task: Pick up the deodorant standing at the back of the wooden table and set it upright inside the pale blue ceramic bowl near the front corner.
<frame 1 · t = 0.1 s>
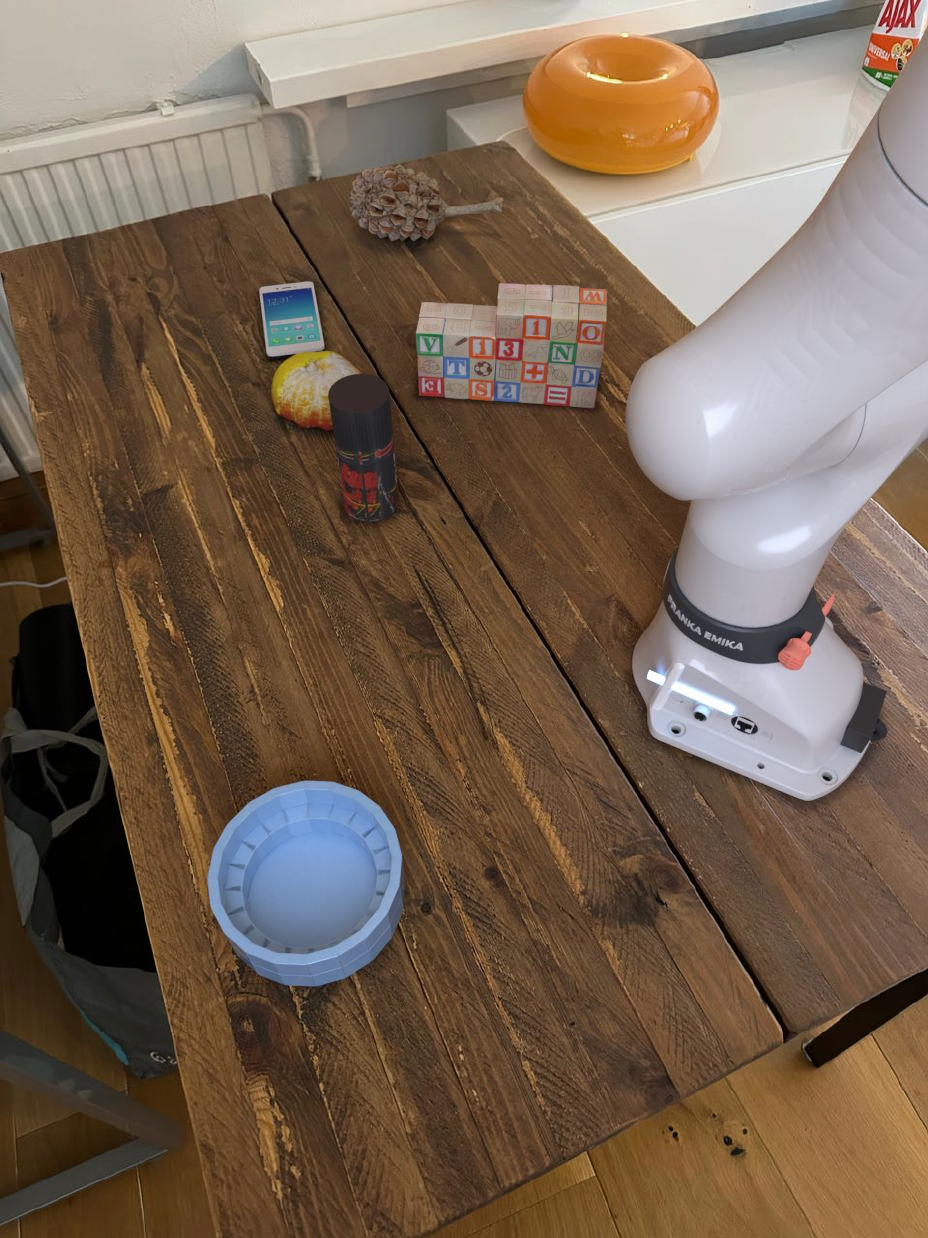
stack of blocks: (508, 387, 116), on the table
deodorant: (371, 503, 104), on the table
pine cone: (429, 237, 136), on the table
smartphone: (291, 323, 124), on the table
fruit: (322, 410, 113), on the table
bowl: (315, 896, 77), on the table
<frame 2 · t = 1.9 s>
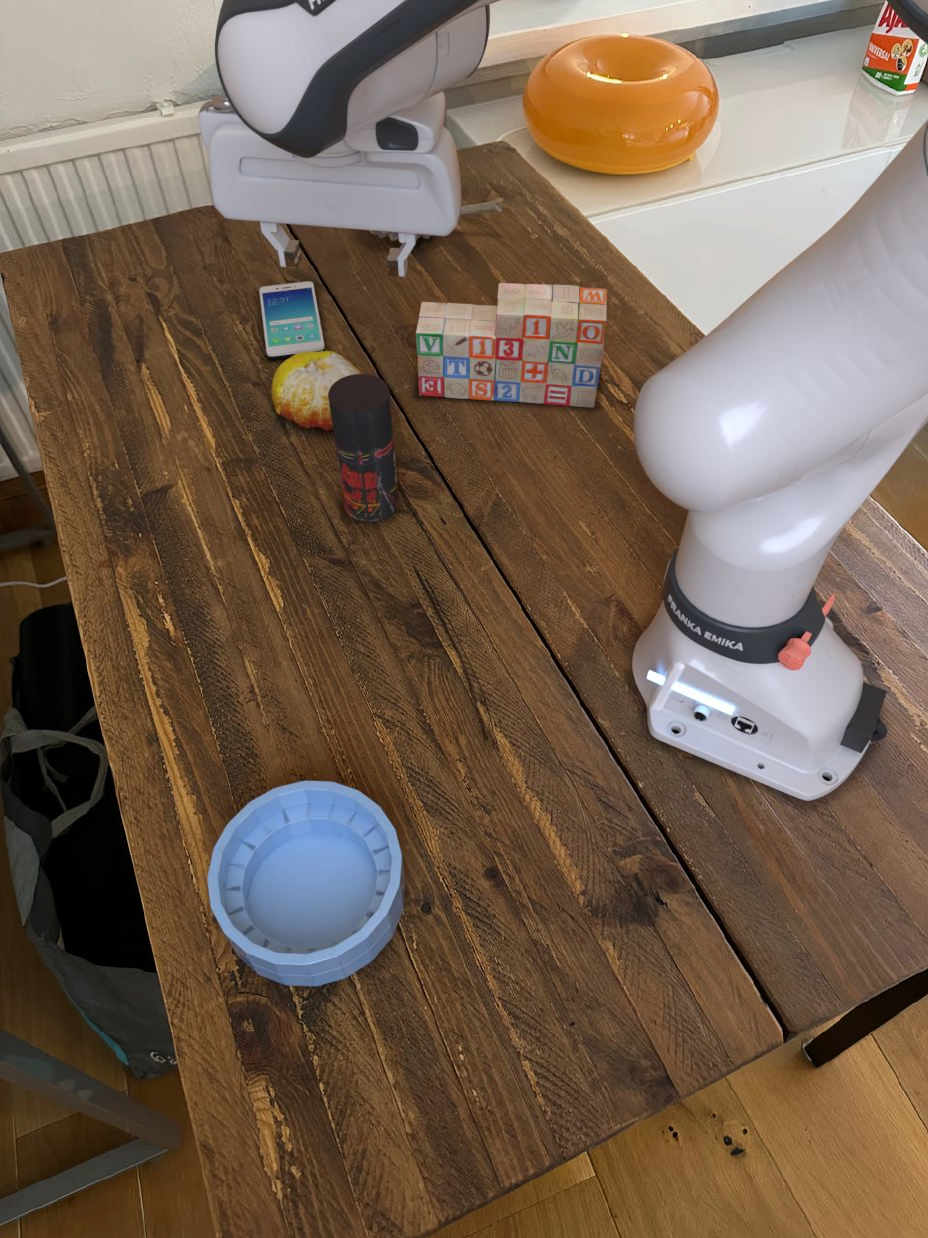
hand: (344, 268, 82), 28 cm above the table, tool pointing down, fingers open, 8 cm apart
nothing on the table moved.
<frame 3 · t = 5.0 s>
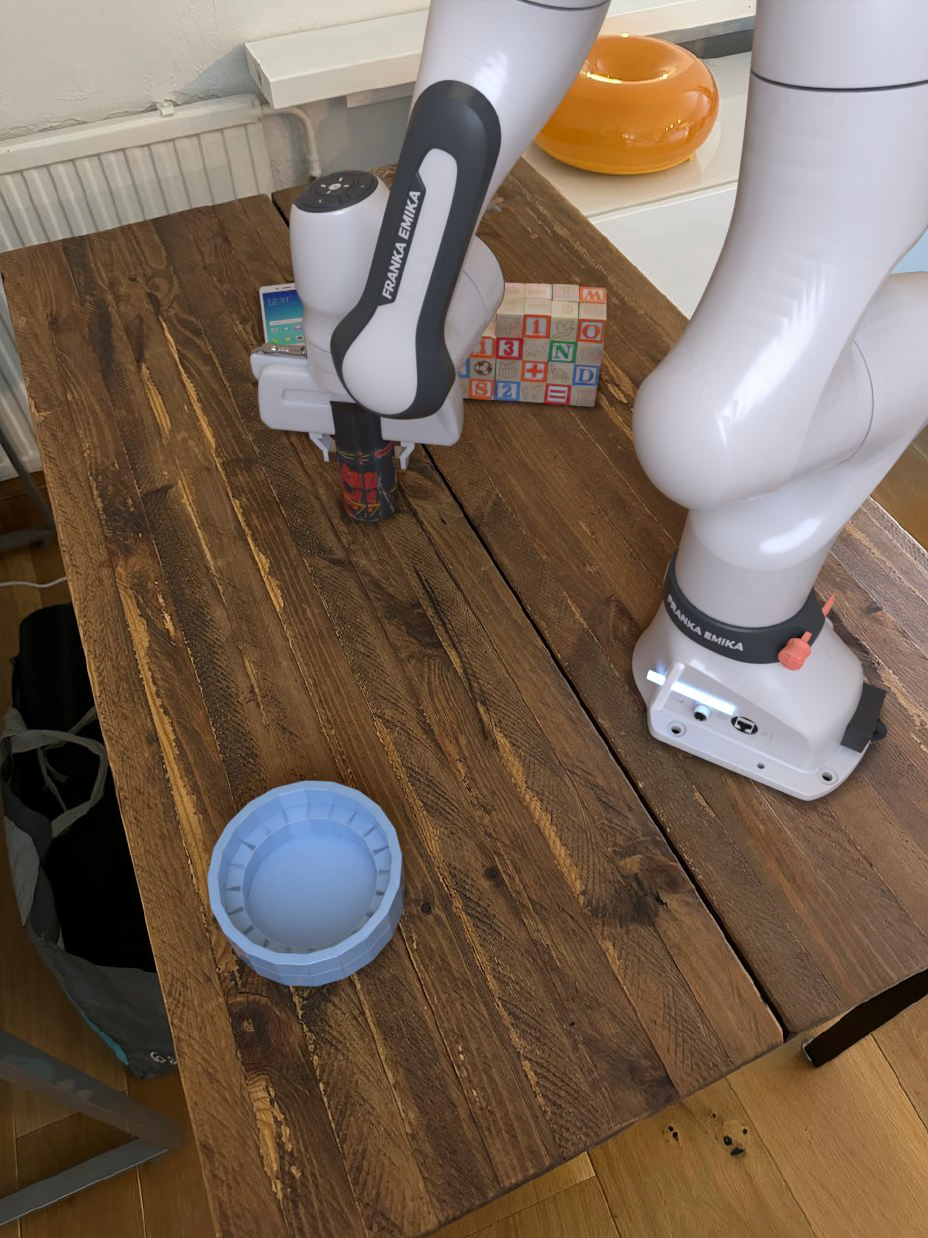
hand: (367, 461, 99), 6 cm above the table, tool pointing down, fingers closed on deodorant, 6 cm apart
deodorant: (371, 503, 104), on the table, touching gripper
everything else where it was.
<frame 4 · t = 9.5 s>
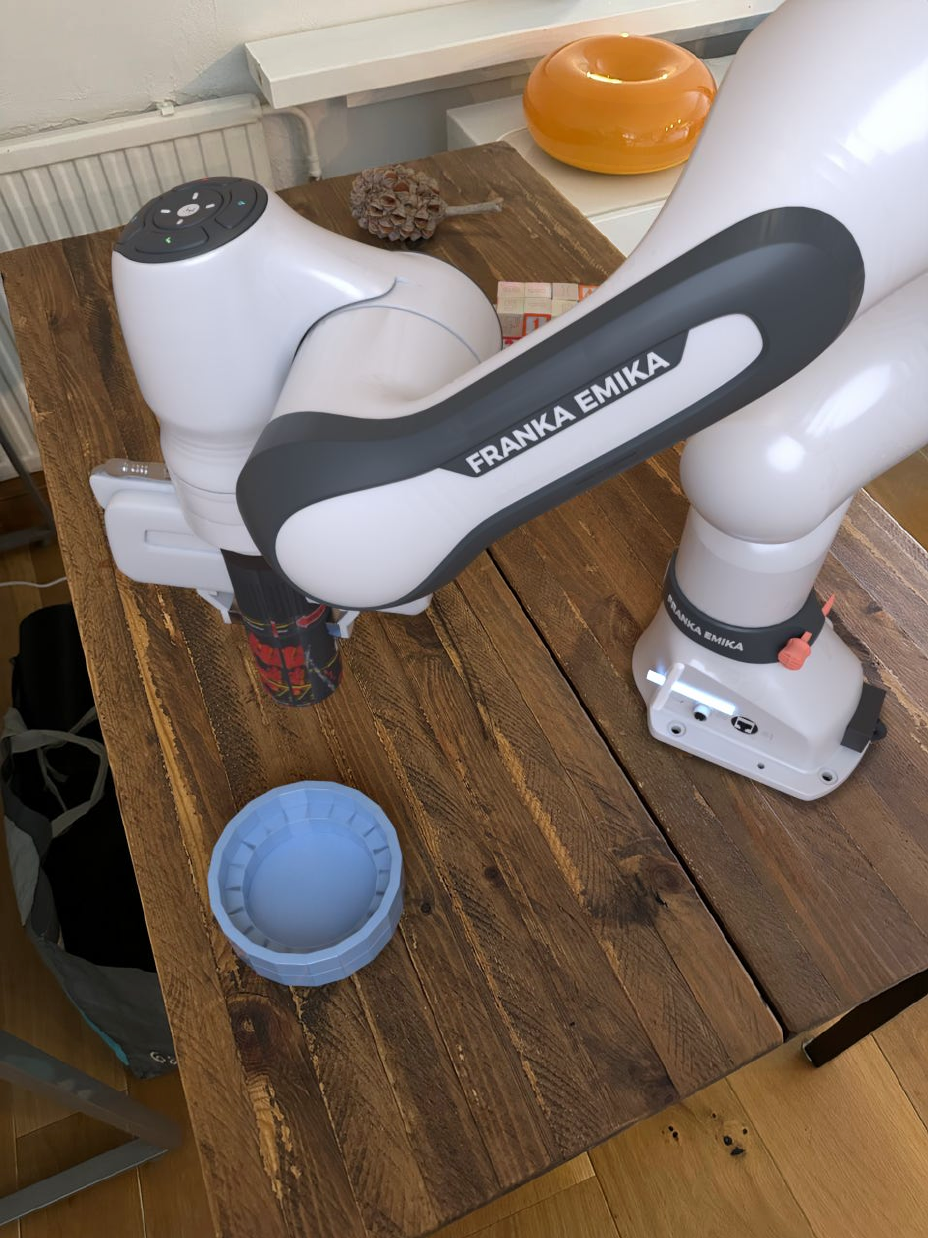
hand: (291, 623, 65), 23 cm above the table, tool pointing down, fingers closed on deodorant, 6 cm apart
deodorant: (302, 674, 69), point 17 cm above the table, touching gripper
everything else where it was.
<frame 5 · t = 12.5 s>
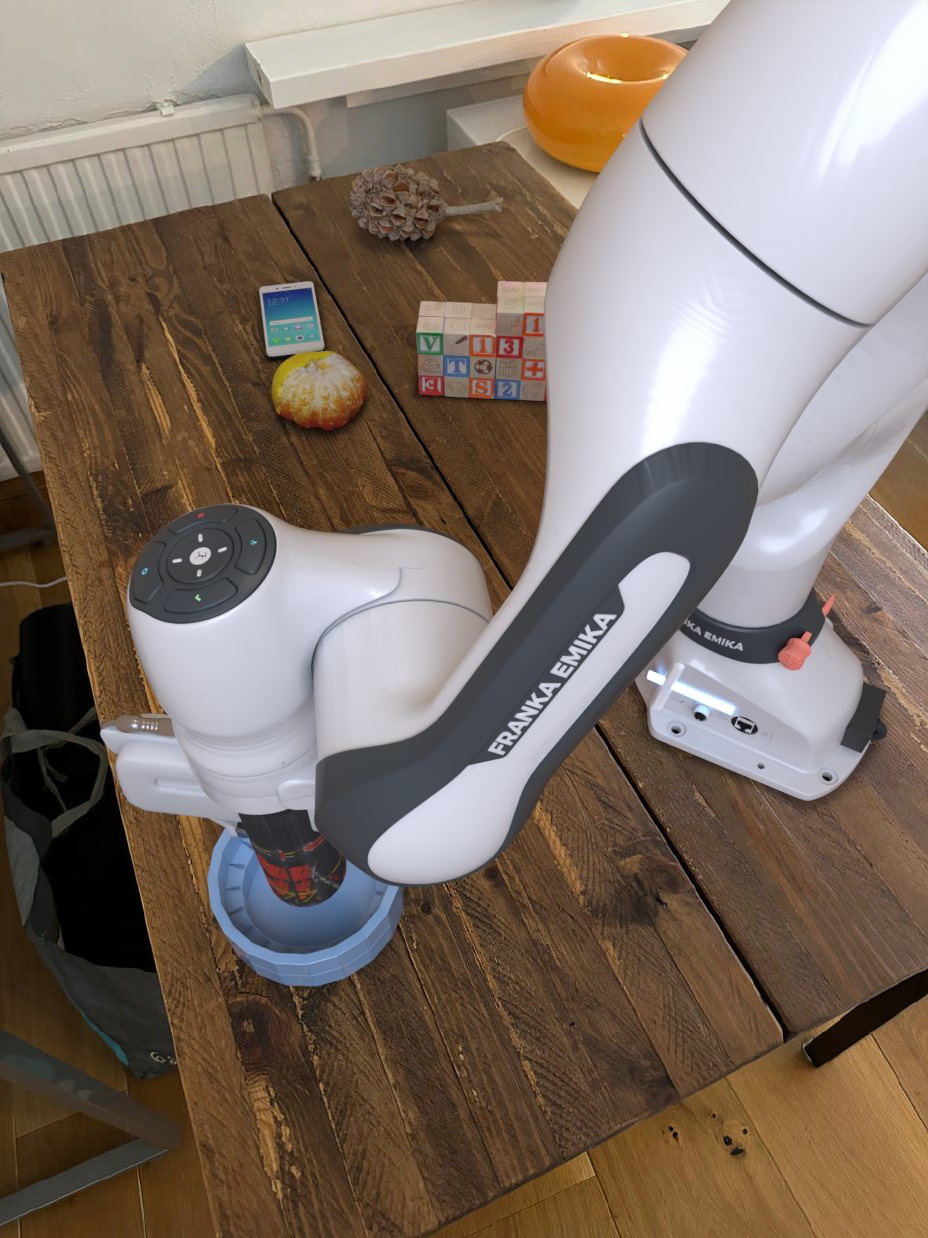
hand: (296, 834, 66), 13 cm above the table, tool pointing down, fingers closed on deodorant, 6 cm apart
deodorant: (307, 869, 71), point 7 cm above the table, touching gripper
everything else where it was.
when the fingers open (7 cm above the table, at t = 14.5 s): deodorant stays where it is, resting on bowl.
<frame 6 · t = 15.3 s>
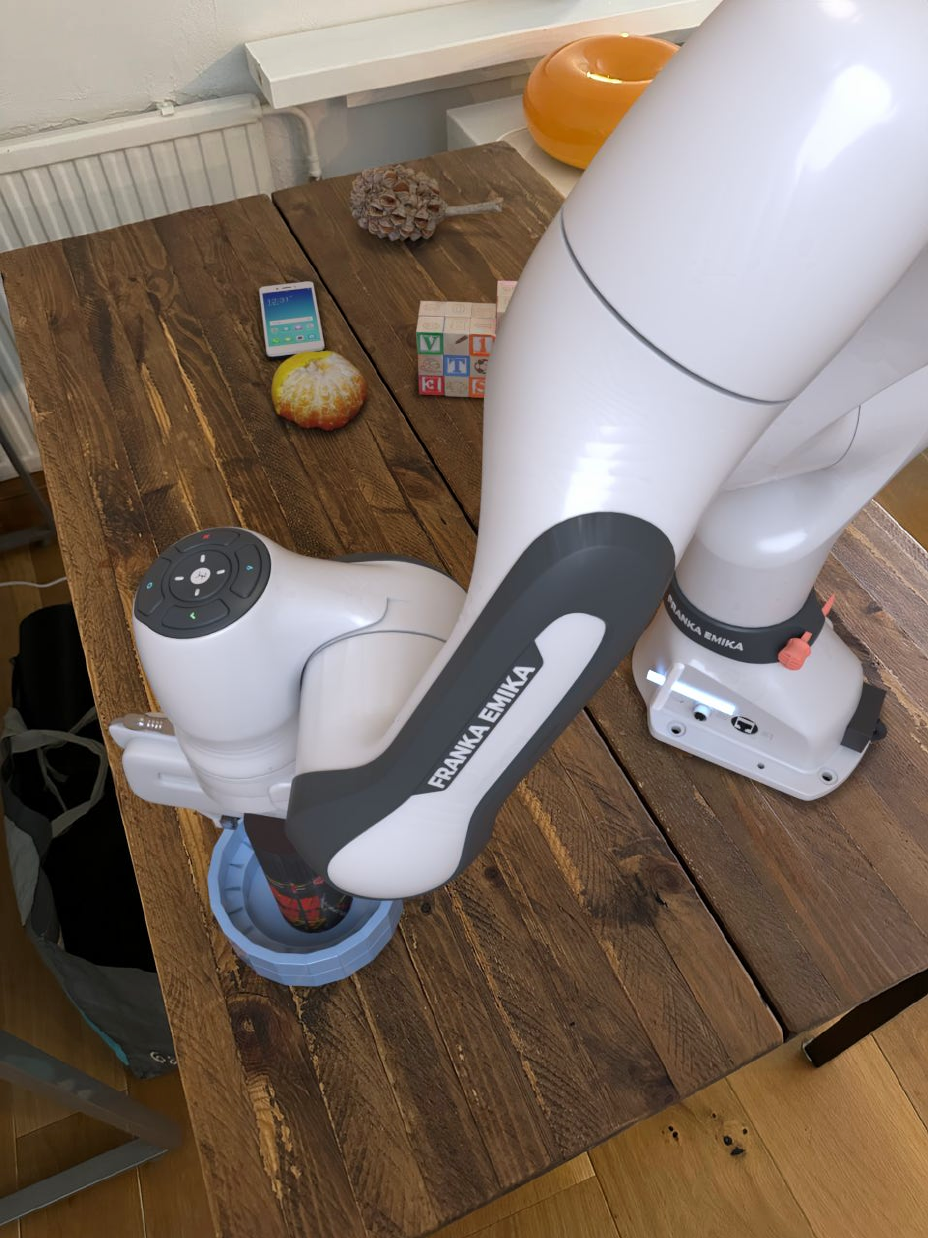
hand: (291, 830, 70), 10 cm above the table, tool pointing down, fingers open, 8 cm apart
deodorant: (316, 897, 76), point 1 cm above the table, touching bowl, gripper
everything else where it was.
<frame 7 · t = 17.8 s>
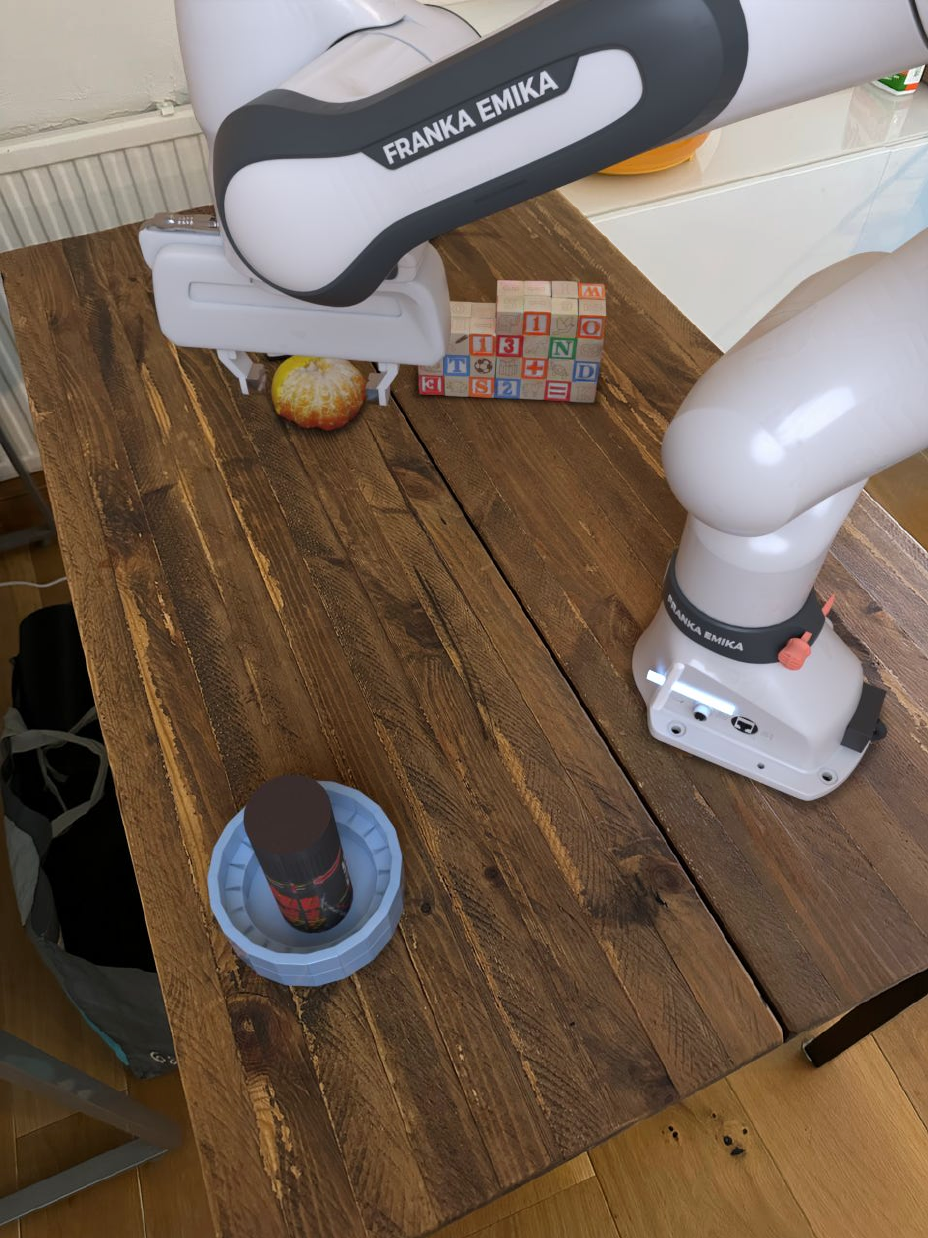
hand: (316, 395, 71), 28 cm above the table, tool pointing down, fingers open, 8 cm apart
deodorant: (316, 897, 76), point 1 cm above the table, touching bowl
everything else where it was.
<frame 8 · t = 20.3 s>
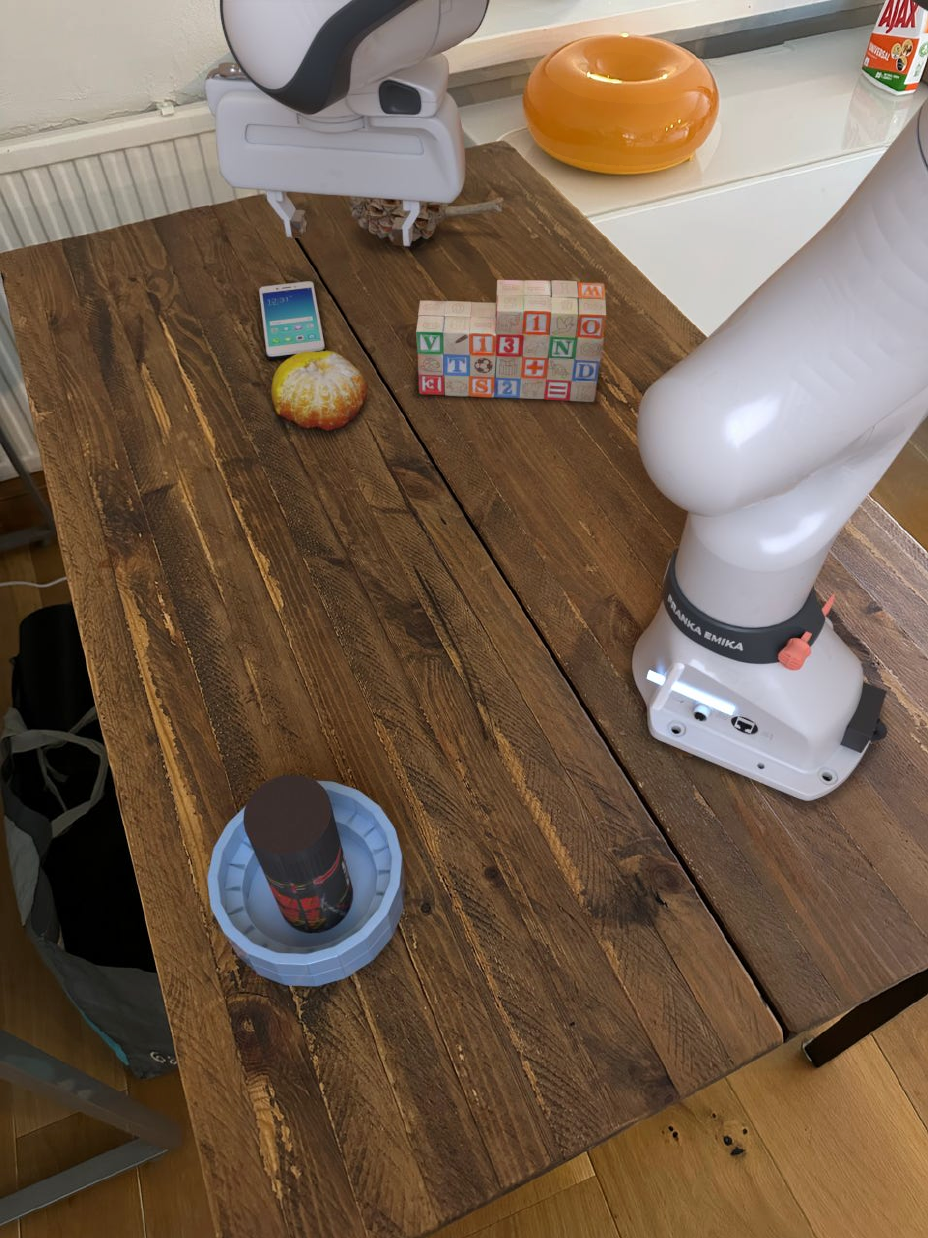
hand: (349, 238, 83), 29 cm above the table, tool pointing down, fingers open, 8 cm apart
nothing on the table moved.
at the end: deodorant inside the target area in the bowl (0.4 cm from its centre), point 0.6 cm above the bowl's base; deodorant tilted 0°; the gripper is holding nothing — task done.
